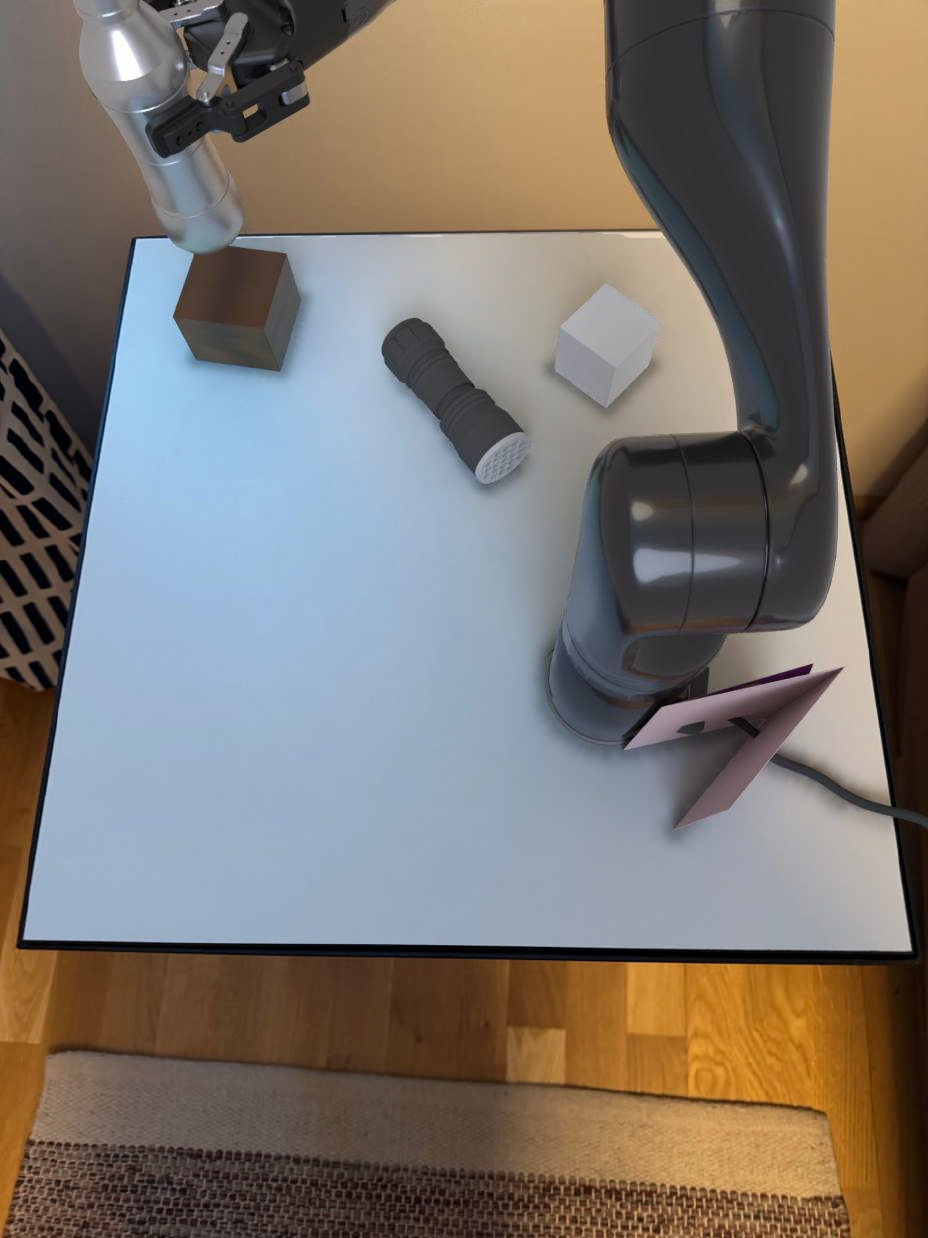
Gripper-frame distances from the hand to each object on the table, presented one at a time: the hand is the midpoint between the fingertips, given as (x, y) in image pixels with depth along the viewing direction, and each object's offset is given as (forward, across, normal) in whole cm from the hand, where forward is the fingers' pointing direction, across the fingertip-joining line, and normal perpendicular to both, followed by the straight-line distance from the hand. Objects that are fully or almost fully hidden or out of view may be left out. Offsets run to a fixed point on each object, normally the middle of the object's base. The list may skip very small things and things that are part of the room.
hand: (122, 115), depth 54 cm
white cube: (-22, +26, +24) cm, 42 cm away
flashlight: (-9, +20, +24) cm, 33 cm away
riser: (-2, 0, +24) cm, 24 cm away
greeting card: (-2, +56, +24) cm, 61 cm away
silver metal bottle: (-2, 0, +12) cm, 12 cm away
